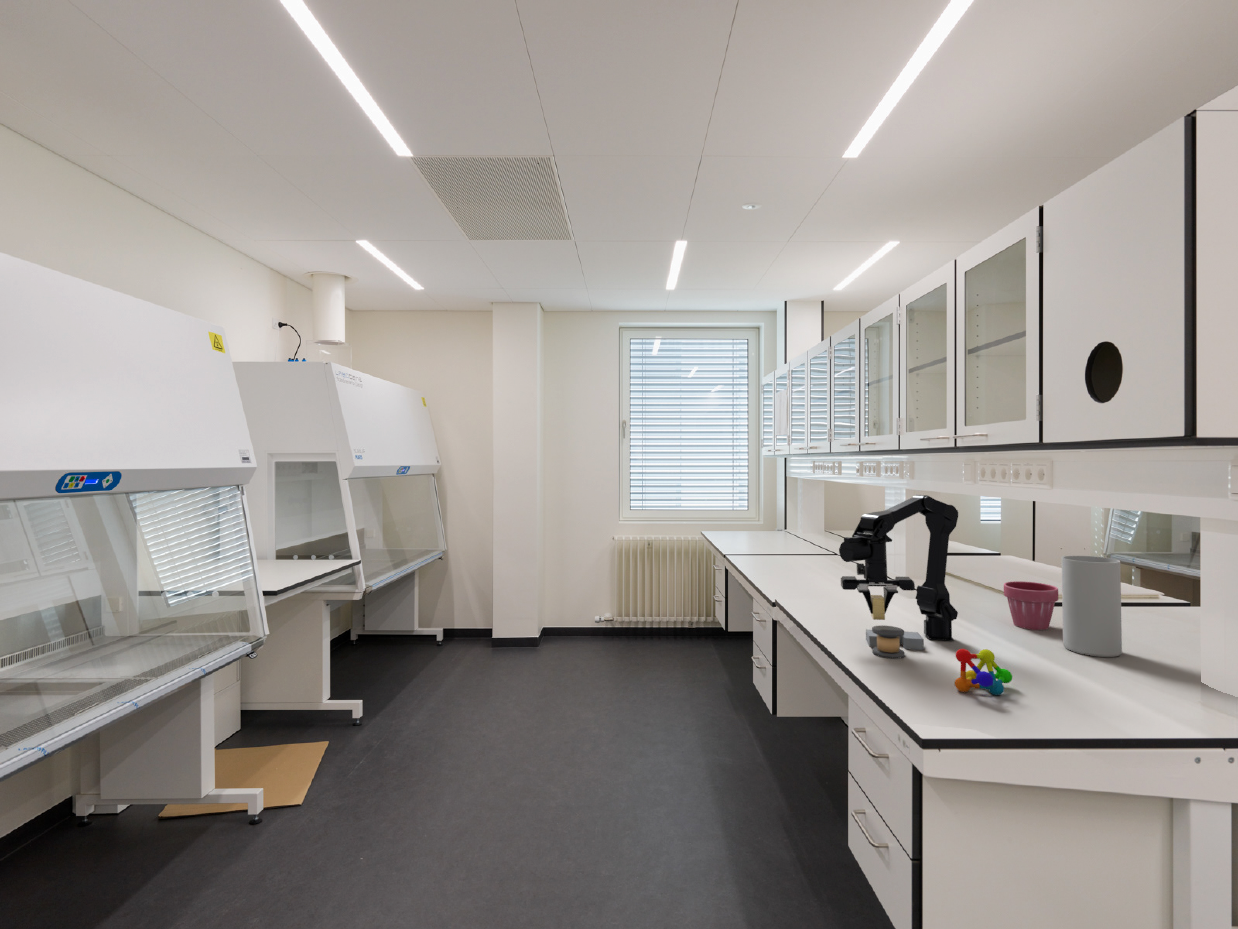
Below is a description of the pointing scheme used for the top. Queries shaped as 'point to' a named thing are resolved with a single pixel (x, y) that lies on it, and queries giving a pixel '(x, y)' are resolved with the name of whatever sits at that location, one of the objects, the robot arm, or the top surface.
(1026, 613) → the plant pot
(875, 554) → the robot arm
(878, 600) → the tan wooden block
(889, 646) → the bobbin
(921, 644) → the notch board
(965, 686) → the molecular model
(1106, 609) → the cylinder vase
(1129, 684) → the top surface
